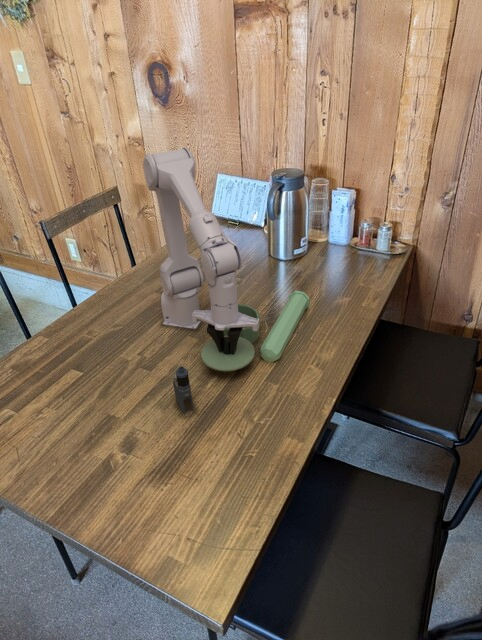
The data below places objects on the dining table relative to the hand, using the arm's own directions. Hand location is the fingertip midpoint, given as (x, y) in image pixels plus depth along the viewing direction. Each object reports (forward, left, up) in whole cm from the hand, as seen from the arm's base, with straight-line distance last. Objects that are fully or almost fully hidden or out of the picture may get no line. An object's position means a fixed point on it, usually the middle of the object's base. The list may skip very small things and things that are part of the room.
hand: (227, 350), depth 100 cm
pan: (-2, +13, -5) cm, 14 cm away
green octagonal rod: (+10, +16, -6) cm, 19 cm away
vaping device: (-5, -14, -6) cm, 16 cm away
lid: (0, 0, -1) cm, 1 cm away
